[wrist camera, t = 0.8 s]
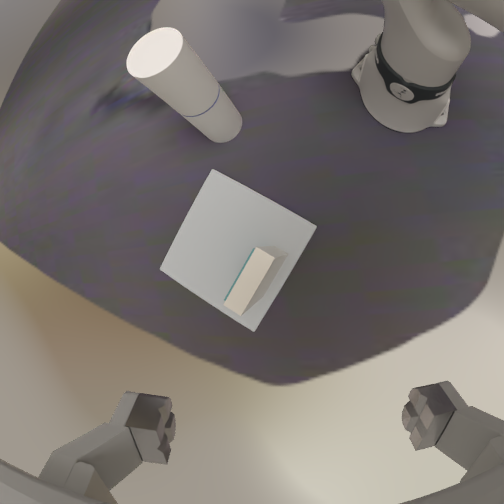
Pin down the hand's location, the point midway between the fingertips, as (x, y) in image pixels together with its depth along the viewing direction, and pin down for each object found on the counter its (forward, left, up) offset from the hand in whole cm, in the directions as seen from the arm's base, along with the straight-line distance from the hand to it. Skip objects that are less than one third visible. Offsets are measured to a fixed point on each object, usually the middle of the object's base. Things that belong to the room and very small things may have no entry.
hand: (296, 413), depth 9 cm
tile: (+3, -7, -40) cm, 41 cm away
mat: (+3, -14, -41) cm, 43 cm away
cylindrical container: (-15, -27, -41) cm, 51 cm away
